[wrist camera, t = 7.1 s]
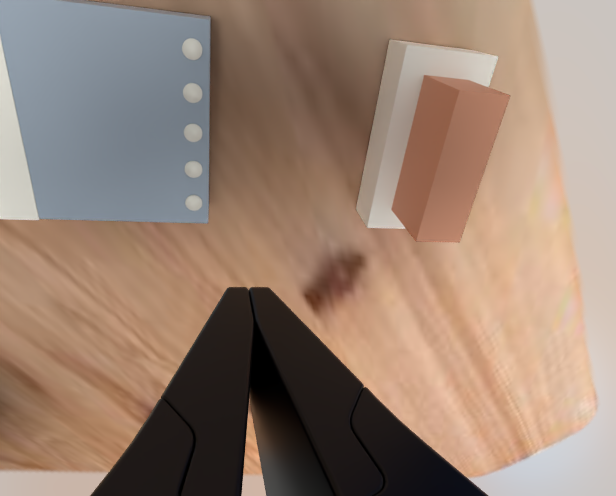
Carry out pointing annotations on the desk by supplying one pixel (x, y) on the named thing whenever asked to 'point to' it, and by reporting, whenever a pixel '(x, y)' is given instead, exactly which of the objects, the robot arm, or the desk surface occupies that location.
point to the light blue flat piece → (103, 112)
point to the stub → (429, 140)
